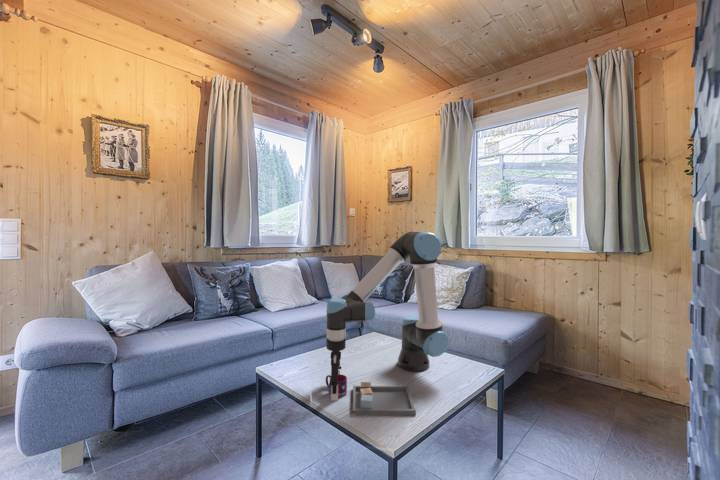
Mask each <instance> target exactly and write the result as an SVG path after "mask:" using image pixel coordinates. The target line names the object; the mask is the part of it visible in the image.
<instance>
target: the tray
mask: <svg viewBox="0 0 720 480" xmlns="http://www.w3.org/2000/svg"><path fill="white" fill-rule="evenodd" d="M352 388H353V389H352V415H353V416H416V415H417V414H416V413H417V411H416V407H415V404H414V401H413V399H412V398H413V397H412V395H411V393H410V389H409V385H371V390H372V392H373V407H372V409H361V400H360V389H361V385H352Z"/></svg>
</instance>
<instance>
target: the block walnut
mask: <svg viewBox="0 0 720 480" xmlns="http://www.w3.org/2000/svg"><path fill="white" fill-rule="evenodd" d="M360 386H361V389H363V388H371V386H372V382H371V381H361V382H360Z"/></svg>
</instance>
